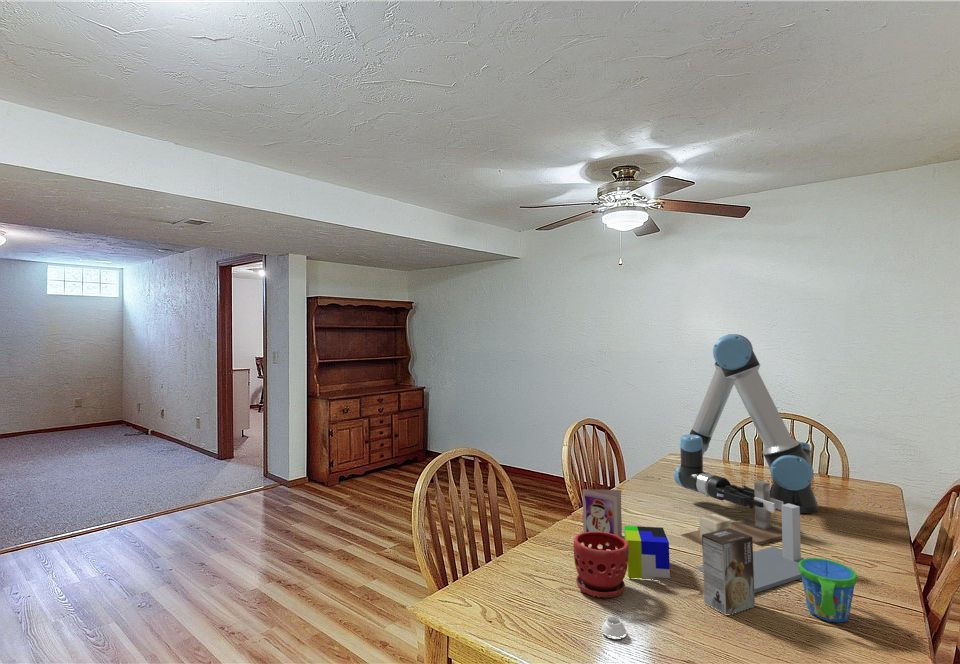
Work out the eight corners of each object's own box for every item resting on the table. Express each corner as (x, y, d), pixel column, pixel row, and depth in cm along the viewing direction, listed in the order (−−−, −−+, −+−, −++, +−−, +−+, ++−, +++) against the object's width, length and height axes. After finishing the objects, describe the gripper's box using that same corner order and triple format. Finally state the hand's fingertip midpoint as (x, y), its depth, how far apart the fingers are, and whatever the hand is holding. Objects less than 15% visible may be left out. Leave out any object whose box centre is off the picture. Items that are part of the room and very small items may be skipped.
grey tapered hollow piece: (603, 625, 108) (600, 639, 103) (603, 612, 108) (599, 624, 103) (627, 630, 106) (625, 643, 102) (627, 616, 106) (625, 629, 102)
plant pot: (620, 608, 115) (619, 555, 115) (566, 593, 122) (565, 543, 122) (635, 583, 126) (634, 535, 126) (585, 571, 133) (584, 526, 133)
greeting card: (582, 539, 153) (581, 490, 154) (594, 532, 159) (593, 484, 159) (616, 549, 146) (615, 497, 146) (628, 541, 151) (627, 491, 151)
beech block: (714, 533, 153) (714, 513, 153) (731, 540, 148) (731, 520, 148) (700, 537, 151) (699, 517, 151) (716, 544, 145) (716, 523, 145)
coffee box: (731, 594, 120) (729, 526, 120) (755, 607, 114) (754, 536, 114) (702, 603, 116) (701, 533, 116) (726, 617, 110) (724, 543, 110)
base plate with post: (773, 549, 143) (772, 497, 143) (824, 570, 130) (823, 512, 131) (695, 571, 131) (694, 514, 131) (743, 597, 118) (742, 532, 118)
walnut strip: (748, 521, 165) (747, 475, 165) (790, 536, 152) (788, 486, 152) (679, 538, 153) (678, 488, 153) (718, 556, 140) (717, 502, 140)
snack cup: (855, 640, 101) (854, 589, 101) (793, 622, 108) (792, 574, 108) (860, 607, 113) (859, 562, 113) (805, 592, 120) (804, 549, 120)
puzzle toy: (669, 582, 126) (668, 542, 126) (628, 579, 128) (627, 540, 128) (663, 564, 136) (662, 527, 136) (625, 562, 138) (624, 525, 138)
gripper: (730, 493, 177) (796, 515, 156) (697, 500, 171) (760, 524, 149) (730, 472, 177) (795, 491, 156) (696, 478, 171) (760, 498, 149)
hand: (778, 507), depth 153 cm, fingers closed on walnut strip, 3 cm apart
